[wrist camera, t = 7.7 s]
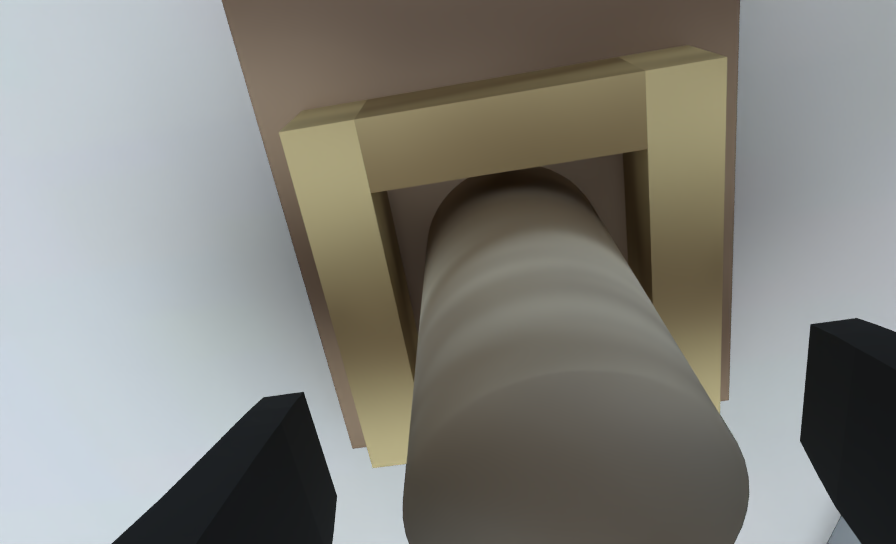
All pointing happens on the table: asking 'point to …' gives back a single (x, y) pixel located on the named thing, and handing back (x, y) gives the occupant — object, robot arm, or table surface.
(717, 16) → the dock
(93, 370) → the table surface
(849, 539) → the lighter
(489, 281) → the beige cylinder
